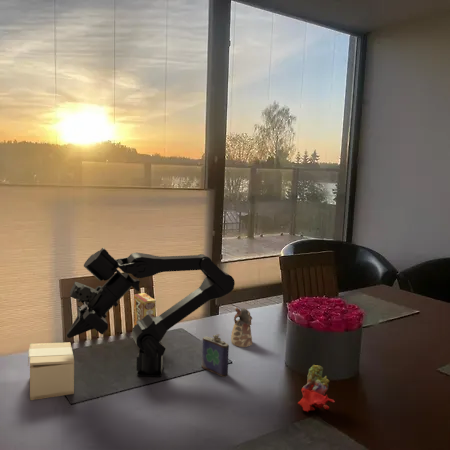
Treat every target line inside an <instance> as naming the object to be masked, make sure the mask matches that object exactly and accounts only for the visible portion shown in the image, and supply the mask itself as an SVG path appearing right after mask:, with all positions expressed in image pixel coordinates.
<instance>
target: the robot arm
mask: <svg viewBox="0 0 450 450" xmlns="http://www.w3.org/2000/svg"><path fill="white" fill-rule="evenodd" d="M83 268H85V269H86V270H87V272H89V273H90V274H92V275H93V277H95V278H96V279H97V280H98V281H99V282H101V281H106V282H105V283H104V284H103V285H102V286H101V285H97V286H96V287H95V288H94V287H91V286H89V285H86V284H84V283H80V282H77V281H74V283H73V284H72V287H71V289H70V291H69V294H70V296H69V297H71V298H73V299H75V300H77V302H78V303H82V305H81V306H79V305H77V315H76V317H75V319H74V321H73V323H72V324H71V326H70V328H69V330H68V331H67V333H66V335H65V336H66V338H69V339H71V338H74V337H76V336H79V335H81V334H83V333H86V332H89V331H92V330H95V331H96V332H98V333H99V334H100V335H102V336H103V335H104V334H105V333H106V332H107V331H108V330H109V323H108V321H107V319H106V318H107V316H108V315H107V313H108V312H109V311H110V310H111V309H112V308H113V307H115V308H116V307H118V305H119V301H120V300H121V299H122V298H123V297H124V296H125V295H126V294H127V293H128V292H129V291H130V289H132V288H133V289H134V290H135V291H136V292H140V291H141V290H140V282H141V281H140V280H139V279H143V278H149V277H153V276H155V275H157V274H158V275H159V274H161V273H168V272H171V273H172V272H185V271H186V272H187V271H201V273H203V275H205V278H204V279H203V281H202V282H201V284H200V286H199V287H198V288H196V289H195V290H194V291H192V292H190V293H189V294H188V295H186V296H185V297H184V298H181V300H179V301H178V302H176V303H175V304H174V305H172V306H171V307H170V308H168V309H167V310H165V311H163V312H162V313H161V314H159V315H157V316H155V317H153V318H152V317H151V316H150V315H149V314H148V315H146V316H145V317H144V318H143V319H142V320H140V321H137V322H136V323H137V324H136V325H135V326H134V325H133V328H132V331H131V336H132V339H133V341H134V342H135V344H136V347H138V348H139V351H138V353H137V356H136V371H137V374H136V375H137V376H138V377H155V378H156V377H162V373H163V369H164V364H163V363H164V362H163V358H164V354H165V351H166V347H165V345H164V344H163V343H162V340H163V339H164V337H165V335H166V334H167V332H168V331H169V330H170V329H171V328H173V327H174V326H175V325H177V324H179V323H180V322H182V320H184V319H185V318H186V317H188V316H189V315H191V314H192V313H194V312H195V311H197V310H198V309H199V308H202V306H203V305H205V304H206V303H208V302H209V301H212V300H216V299H220V298H222V297H225V296H226V295H228V294H230V293H231V292H233V290H235V289H234V288H235V284H236V283H235V279H234V277H233V276H232V275H230V274H228V273H227V272H225V271H223V270H221V268H219V266H218V265H217V264H216V263H214V262H213V261H212V259H211V258H210V257H209V256H207V255H205V254H202V253H201V254H194V255H193V254H191V255H169V256H168V255H165V256H163V255H161V256H160V255H154V254H148V253H144V252H133V253H132V252H131V253H130V254H129V256H127V257H122V258H116V259H115V257H113V256H112V255H111V254H110V253H109V252H108V250H107V249H106V248H104V247H102V248H101V249H100V250H98V251H96V252H94V253H93V254H91V255H90V256H89V257H88V258H87V259H86V260H85V262H84V263H83ZM118 269H119V270H118ZM121 271H122V272H121ZM130 274H131V275H132V276H133V277H134V278H135V279H134V278H133V277H132V276H131V275H130Z"/></svg>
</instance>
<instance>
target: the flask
mask: <svg viewBox="0 0 450 450" xmlns="http://www.w3.org/2000/svg"><path fill="white" fill-rule="evenodd" d="M219 336H220V334H219V333H218V334H217V333H216V334H215V335H212V337H211V336H203V337H202V349H201V365H200V366H201V367H202V369H204V370H206V371H208V372H211V373H214V374H217V375H218V376H220V377H224V378H225V377H228V375H229V373H228V372H229V352H230V351H229V350H230V349H229V348H230V345H229V343H227V342H226V341H223V340H222V339H221V338H220V337H219Z"/></svg>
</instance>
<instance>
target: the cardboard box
mask: <svg viewBox="0 0 450 450" xmlns="http://www.w3.org/2000/svg"><path fill="white" fill-rule="evenodd" d="M74 394H75V362H74V363H67V364H49V365H31V366H30V365H29V401H35V400H43V399H48V398H56V397H61V396H69V395H74Z"/></svg>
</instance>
